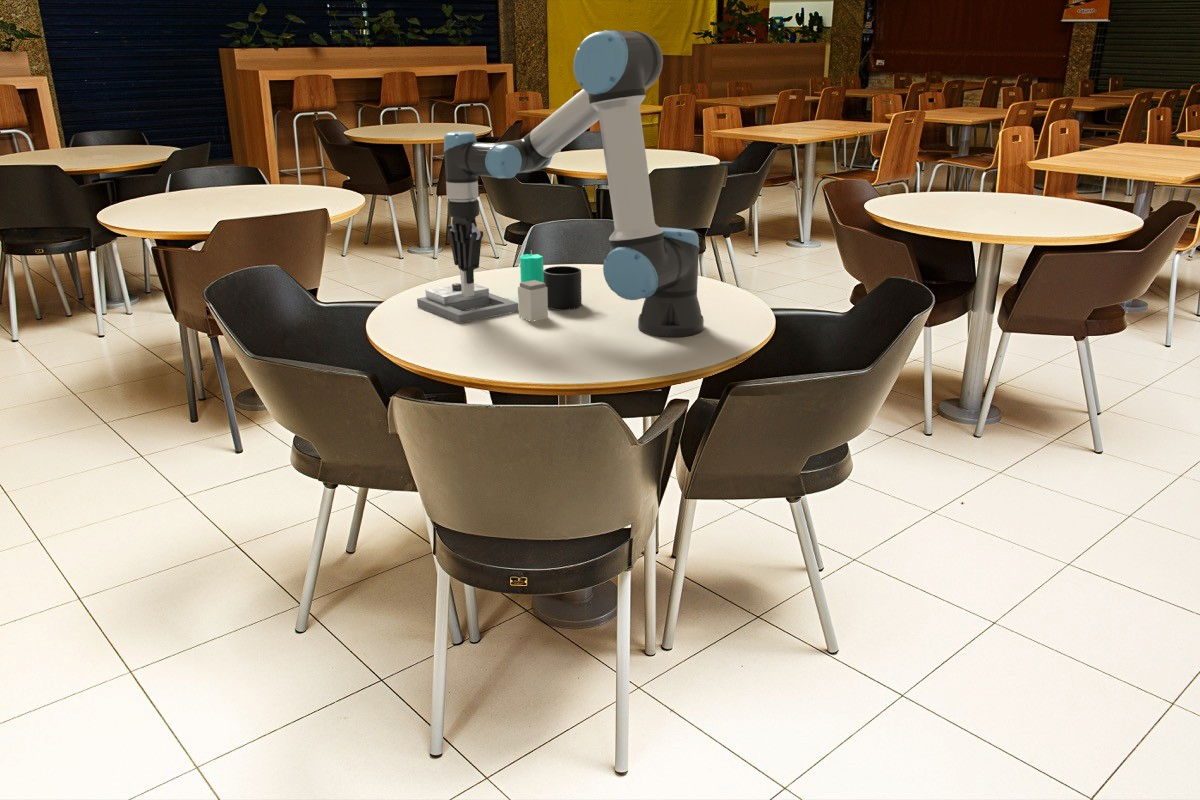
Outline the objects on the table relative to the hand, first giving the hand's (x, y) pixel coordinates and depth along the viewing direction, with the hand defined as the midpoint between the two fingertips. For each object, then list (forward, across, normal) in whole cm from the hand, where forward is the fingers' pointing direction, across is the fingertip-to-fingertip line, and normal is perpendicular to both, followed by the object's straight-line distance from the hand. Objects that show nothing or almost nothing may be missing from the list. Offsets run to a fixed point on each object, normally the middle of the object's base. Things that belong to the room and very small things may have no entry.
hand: (468, 295), depth 230 cm
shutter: (+2, +5, 0) cm, 5 cm away
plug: (+4, -16, -8) cm, 19 cm away
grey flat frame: (+4, +1, 0) cm, 4 cm away
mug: (+4, -11, -21) cm, 24 cm away
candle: (+4, +1, -20) cm, 20 cm away
